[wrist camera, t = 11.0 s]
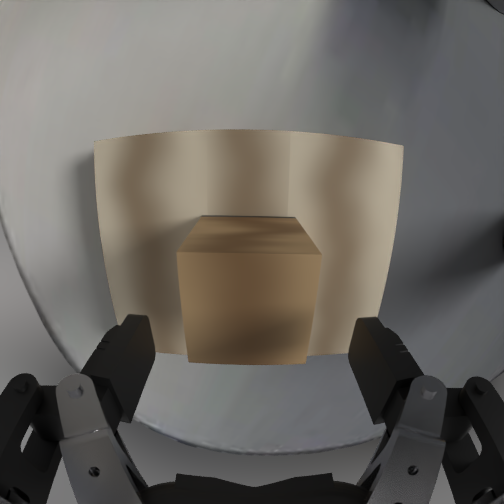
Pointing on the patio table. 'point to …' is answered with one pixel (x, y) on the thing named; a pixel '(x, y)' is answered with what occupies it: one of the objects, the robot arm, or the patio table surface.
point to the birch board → (247, 204)
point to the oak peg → (248, 290)
